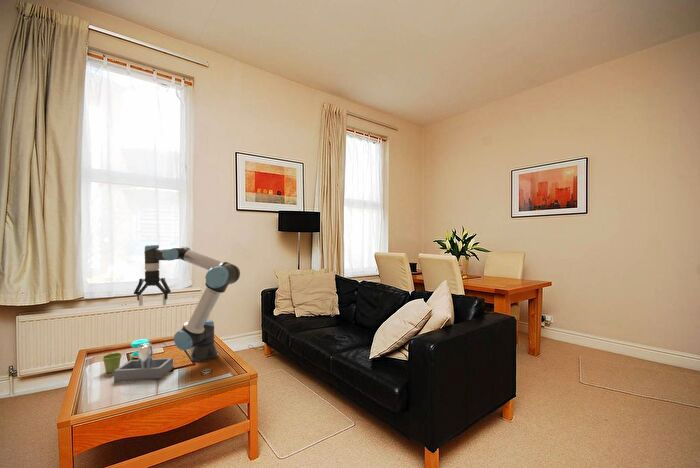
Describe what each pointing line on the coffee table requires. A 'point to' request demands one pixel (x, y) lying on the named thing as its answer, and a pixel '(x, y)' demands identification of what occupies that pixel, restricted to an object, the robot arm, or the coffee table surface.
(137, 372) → the open box
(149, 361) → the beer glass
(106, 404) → the coffee table surface
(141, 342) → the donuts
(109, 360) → the plant pot
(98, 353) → the coffee table surface
